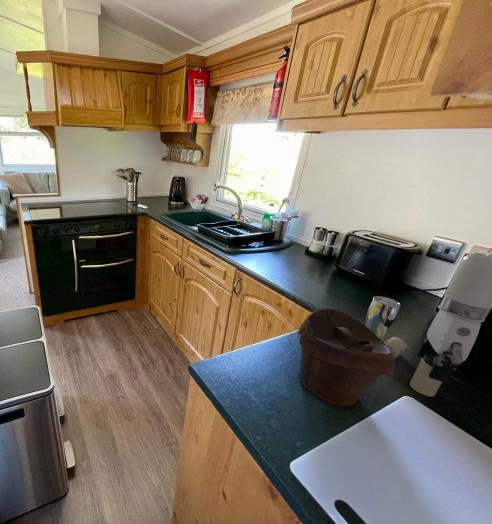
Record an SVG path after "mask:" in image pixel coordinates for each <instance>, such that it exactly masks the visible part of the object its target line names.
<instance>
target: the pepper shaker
mask: <svg viewBox="0 0 492 524" xmlns="http://www.w3.org/2000/svg"><path fill="white" fill-rule="evenodd" d="M438 357H439V355H438V356H437V355H436V356H435V355H430V354H426V355H425V356H424V358H423V357H421V358H420V361H419V363H418V365H417V367H416V369H415V371H414V373H413V375H412V377H411V379H410V381H409V386H410V388H411V389H412V390H414V391H415V392H417V393H419V394H420V395H423V396H425V397H426V396H427V397H431V398H433V397H435V396H436V395H437V393H438V391H439V389H440V387H441V385H442V384H443V382H441V381H438V380H435V379H432V378H430V377H429V373H430V372H431V370H432V368H433V366H434V364H435V363H438ZM446 360H447V359H444V361H446Z"/></svg>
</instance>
